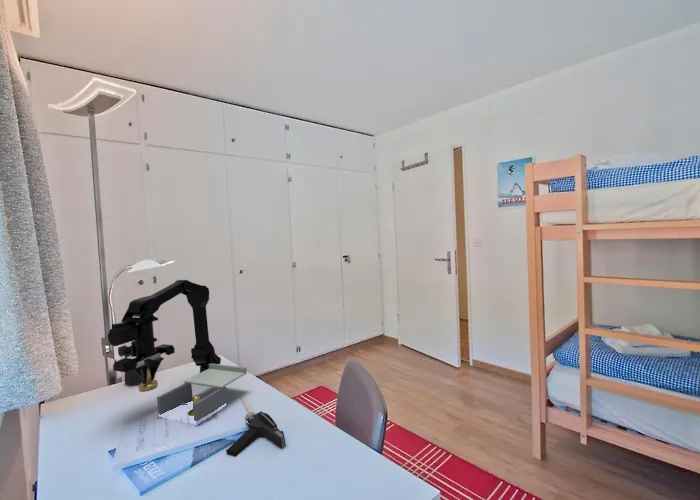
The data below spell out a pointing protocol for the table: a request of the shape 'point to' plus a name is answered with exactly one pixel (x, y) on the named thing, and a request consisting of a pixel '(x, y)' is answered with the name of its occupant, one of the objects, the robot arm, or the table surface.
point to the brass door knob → (148, 383)
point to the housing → (184, 396)
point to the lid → (217, 375)
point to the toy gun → (258, 432)
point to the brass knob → (195, 399)
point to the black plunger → (133, 378)
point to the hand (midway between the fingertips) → (147, 382)
